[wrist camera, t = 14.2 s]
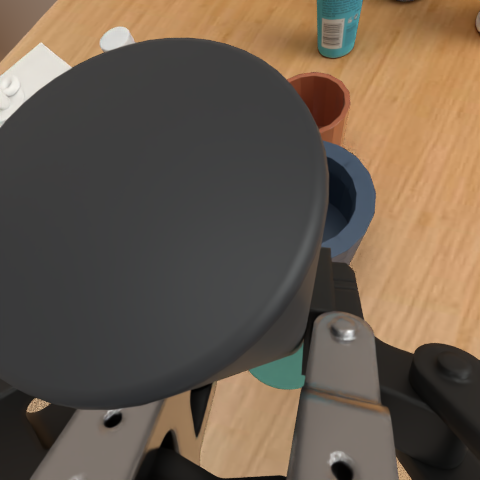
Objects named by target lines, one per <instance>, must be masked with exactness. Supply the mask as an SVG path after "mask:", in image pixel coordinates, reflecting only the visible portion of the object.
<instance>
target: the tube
mask: <svg viewBox="0 0 480 480" xmlns="http://www.w3.org/2000/svg"><path fill="white" fill-rule="evenodd" d="M362 2H363V0H317V29H318V50H319V52H320V53H321V54H322V55H323V56H326V57H330V58H337V57H341V56H344V55H346V54H348V53H349V52H350V51H351V50H352V49H353V47H354V43H355V38H356V33H357V28H358V23H359V17H360V12H361V7H362Z"/></svg>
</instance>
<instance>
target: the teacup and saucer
mask: <svg viewBox="0 0 480 480" xmlns="http://www.w3.org/2000/svg"><path fill="white" fill-rule="evenodd" d="M24 101H25V91H24V89H23V88H22V87H21V81H20V79H19V78H18V77H17V76H16V75H14V74H8V75H6V76H5V77H3V78H2V80H1V81H0V123H2V122H4V121H6V120H7V119H8V118H9V117H10V116H11V115H12V114H13V113H14V112H15V111H16V110H17V109H18V108H19V107H20V106H21V105H22V104H23V103H24Z"/></svg>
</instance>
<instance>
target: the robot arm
mask: <svg viewBox="0 0 480 480" xmlns="http://www.w3.org/2000/svg"><path fill="white" fill-rule="evenodd" d="M301 375H304V376H305V381H304V386H302V389H301V394H300V399H299V405H298V411H297V417H296V423H295V429H294V435H293V441H292V448H291V454H290V460H289V466H288V472H287V477H285V476H281V475H278V476H260V477H243V478H219V477H217V476H214V475H213V474H211V473H210V472H208V471H206V470H205V469H203V468H201V467H200V454H201V447H202V442H203V438H204V434H205V430H206V426H207V422H208V418H209V414H210V410H211V406H212V402H213V398H214V394H215V390H216V385H217V381H215V382H213V383H210V384H207V385H204V386H201V387H198V388H195V389H192V390H190V391H187V392H184V393H181V394H178V395H175V396H172V397H169V398H166V399H162V400H159V401H156V402H152V403H149V404H146V405H142V406H136V407H129V408H122V409H115V410H80V409H75V408H70V407H65V406H59V405H54V404H50V405H48V406H47V407H45V408H44V409H42V410H40V411H38V412H34V413H28V412H26V410H27V407H28V406H29V404H30V403H31V401H32V400H33V399H34V398H35V397H33V396H30V395H28V394H26V393H24V392H22V391H20V390H18V389H16V388H15V387H13V386H11V385H10V384H8V383H7V382H5V381H3V380H2V379H0V480H399V478H398V470H397V462H396V457H397V458H398V460H399V462H400V463H401V464H402V466H403V467H404V469H405V470H406V472H407V473H408V474H409V476H410V477H411V479H412V480H480V360H478V359H477V358H476V357H474V356H473V355H471V354H469V353H467V352H465V351H463V350H461V349H459V348H456V347H453V346H450V345H446V344H439V343H429V344H424V345H422V346H420V347H418V348H417V349H416V351H415V353H414V354H412V353H409V352H407V351H404V350H401V349H398V348H395V347H393V346H390V345H388V344H386V343H384V342H382V341H381V340H379V339H378V338H376V337H375V336H374V332H373V330H372V328H371V327H370V325H369V324H368V323H367V322H366V321H364V318H363V313H362V308H361V303H360V298H359V293H358V288H357V283H356V278H355V273H354V271H353V270H352V269H351V268H350V267H349V266H348V264H347V263H341V262H332V258H331V248H326V247H321V249H320V254H319V260H318V265H317V271H316V276H315V282H314V287H313V293H312V298H311V304H310V309H309V315H308V320H307V326H306V331H305V334H304V340H303V356H302V372H301Z"/></svg>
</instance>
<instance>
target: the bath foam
mask: <svg viewBox="0 0 480 480" xmlns="http://www.w3.org/2000/svg"><path fill="white" fill-rule="evenodd" d="M476 27H477V29H478V31H479V32H480V11H479V13H478V15H477V18H476Z"/></svg>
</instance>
